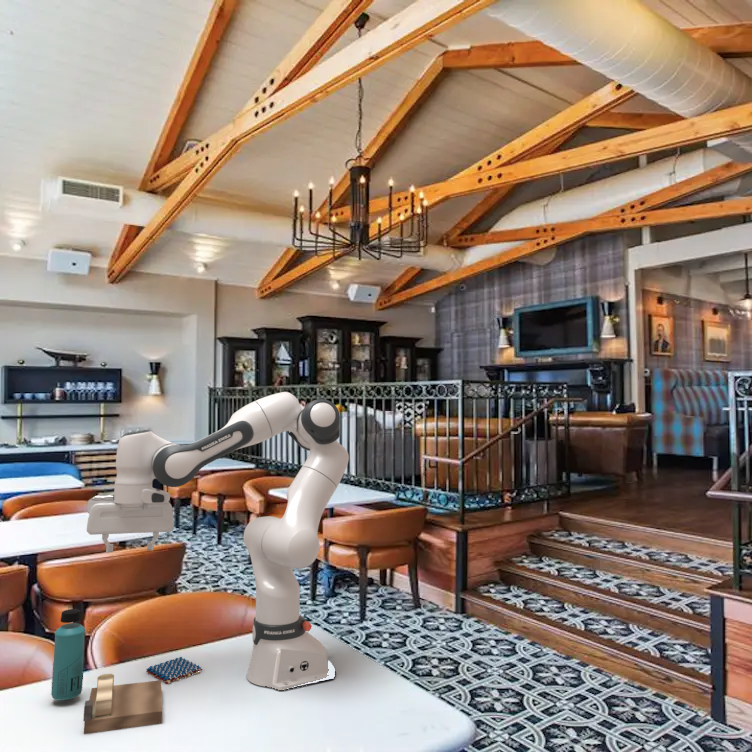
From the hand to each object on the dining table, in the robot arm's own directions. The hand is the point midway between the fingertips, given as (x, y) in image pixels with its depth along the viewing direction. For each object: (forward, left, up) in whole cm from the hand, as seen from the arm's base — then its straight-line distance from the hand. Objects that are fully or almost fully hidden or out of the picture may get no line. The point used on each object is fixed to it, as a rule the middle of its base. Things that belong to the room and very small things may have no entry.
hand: (130, 551), depth 153 cm
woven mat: (-12, -1, -32) cm, 34 cm away
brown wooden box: (-1, +17, -31) cm, 35 cm away
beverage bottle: (+12, +8, -31) cm, 34 cm away
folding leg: (+3, +17, -28) cm, 33 cm away
